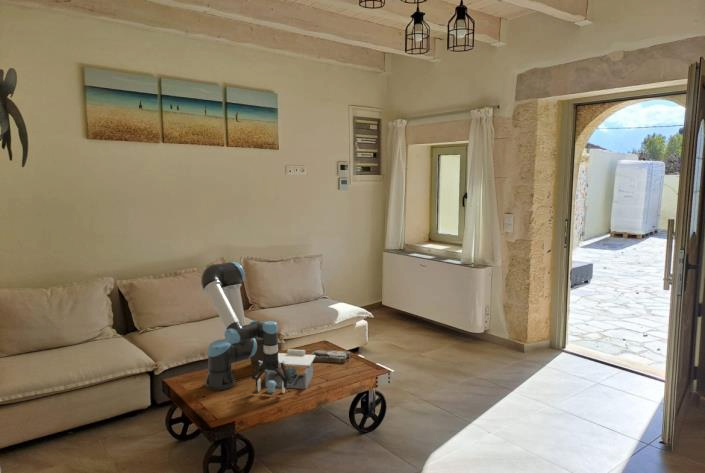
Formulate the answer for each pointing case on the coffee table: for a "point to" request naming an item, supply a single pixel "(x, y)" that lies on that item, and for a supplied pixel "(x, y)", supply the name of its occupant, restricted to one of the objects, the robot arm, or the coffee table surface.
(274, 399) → the coffee table surface
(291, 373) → the jaw peg seated
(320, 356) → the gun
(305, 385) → the housing
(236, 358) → the robot arm
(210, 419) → the coffee table surface
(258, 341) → the wooden container
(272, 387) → the peg
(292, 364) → the lid
